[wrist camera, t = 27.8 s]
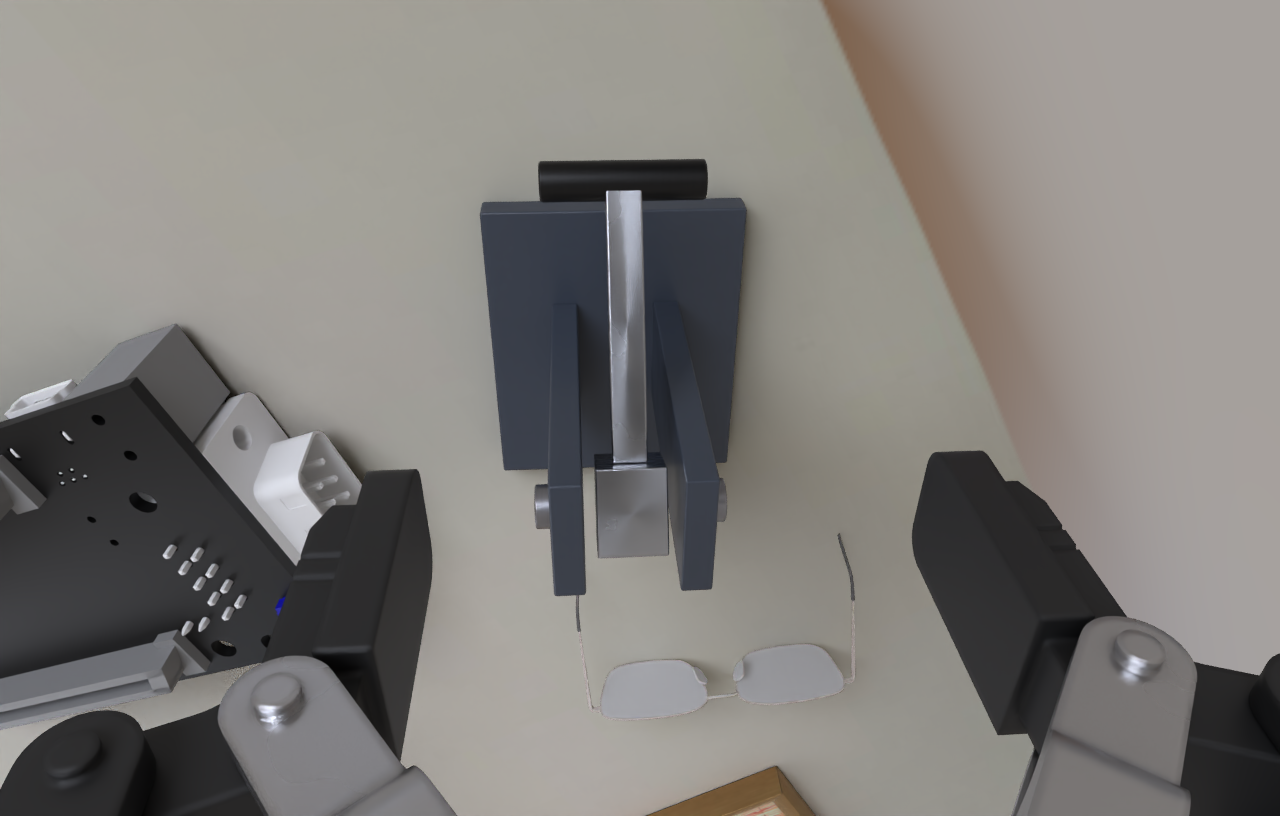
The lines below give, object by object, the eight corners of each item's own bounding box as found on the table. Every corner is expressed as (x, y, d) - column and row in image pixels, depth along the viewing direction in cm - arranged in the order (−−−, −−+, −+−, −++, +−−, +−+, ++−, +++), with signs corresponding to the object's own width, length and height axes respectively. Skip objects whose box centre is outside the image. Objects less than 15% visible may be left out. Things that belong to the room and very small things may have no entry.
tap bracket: (481, 201, 34) (444, 376, 23) (741, 197, 34) (821, 365, 24) (505, 454, 40) (484, 681, 30) (723, 447, 41) (778, 666, 30)
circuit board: (-207, 450, 41) (26, 648, 49) (-345, 556, 36) (-59, 759, 44) (236, 294, 35) (420, 550, 43) (150, 394, 29) (379, 666, 37)
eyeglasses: (588, 669, 49) (589, 727, 45) (569, 554, 45) (569, 608, 41) (840, 640, 49) (860, 696, 45) (843, 523, 45) (865, 574, 42)
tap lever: (540, 165, 28) (536, 156, 25) (699, 164, 28) (711, 153, 26) (554, 537, 30) (552, 561, 27) (703, 531, 30) (714, 553, 28)
